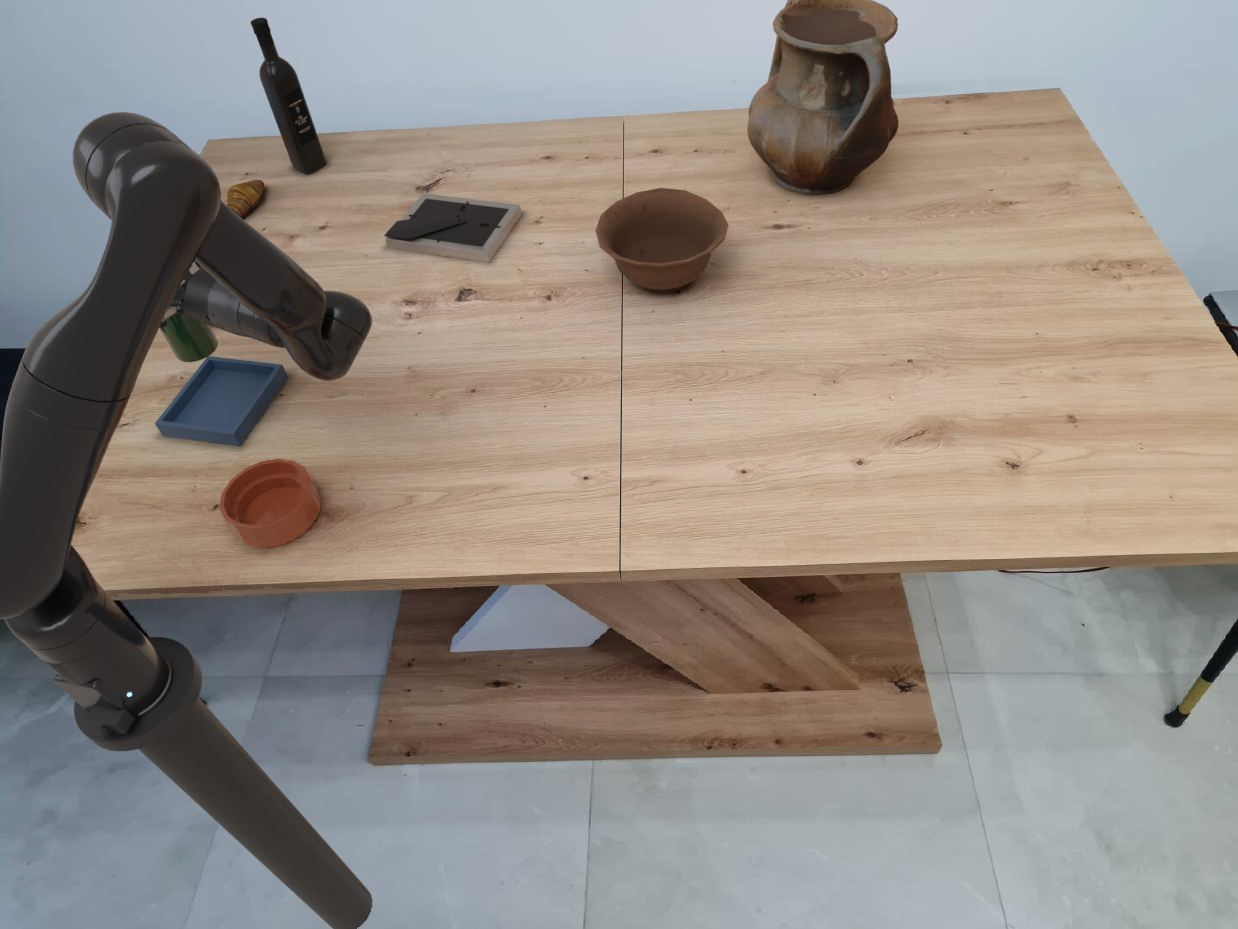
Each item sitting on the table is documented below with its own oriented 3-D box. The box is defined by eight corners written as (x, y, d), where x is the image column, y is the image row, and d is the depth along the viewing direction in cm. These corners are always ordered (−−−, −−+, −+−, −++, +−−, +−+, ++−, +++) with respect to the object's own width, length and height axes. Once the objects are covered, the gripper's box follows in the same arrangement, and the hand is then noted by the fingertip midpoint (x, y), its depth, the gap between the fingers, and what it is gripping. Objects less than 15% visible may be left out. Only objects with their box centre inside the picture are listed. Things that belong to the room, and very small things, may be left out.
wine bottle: (329, 163, 191) (279, 17, 169) (308, 176, 188) (255, 29, 166) (312, 156, 194) (261, 11, 171) (291, 168, 191) (236, 22, 169)
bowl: (723, 238, 163) (724, 184, 155) (730, 315, 149) (732, 260, 140) (602, 244, 165) (597, 190, 157) (598, 321, 150) (592, 266, 142)
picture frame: (388, 248, 169) (489, 262, 163) (384, 235, 167) (486, 249, 161) (425, 202, 178) (521, 214, 173) (422, 189, 176) (519, 201, 171)
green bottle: (204, 364, 126) (124, 221, 109) (167, 360, 127) (82, 218, 110) (226, 336, 130) (152, 194, 113) (190, 332, 131) (112, 191, 114)
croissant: (247, 187, 187) (238, 165, 183) (277, 188, 186) (269, 166, 182) (217, 224, 178) (207, 202, 175) (249, 225, 177) (239, 203, 173)
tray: (240, 446, 136) (233, 434, 134) (162, 436, 139) (154, 423, 137) (288, 377, 146) (282, 364, 144) (214, 368, 149) (207, 355, 147)
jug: (707, 167, 180) (708, 11, 157) (808, 119, 190) (822, -34, 167) (825, 237, 161) (845, 71, 139) (930, 179, 171) (965, 16, 149)
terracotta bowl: (297, 556, 121) (284, 533, 118) (217, 543, 124) (202, 520, 120) (336, 488, 129) (325, 465, 125) (260, 477, 132) (247, 454, 128)
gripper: (263, 246, 115) (172, 219, 121) (178, 311, 107) (85, 278, 113) (283, 294, 121) (195, 265, 127) (204, 359, 113) (115, 325, 119)
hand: (144, 271), depth 120 cm, fingers closed on green bottle, 6 cm apart
